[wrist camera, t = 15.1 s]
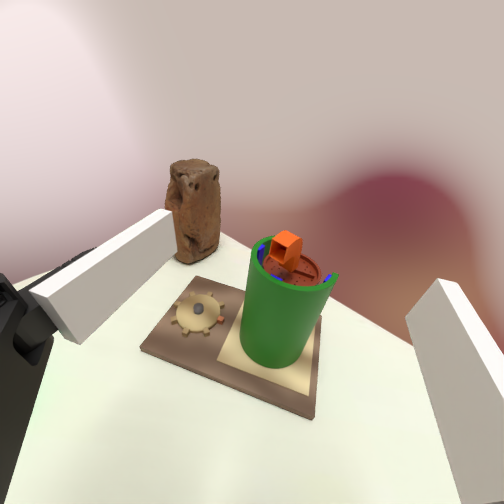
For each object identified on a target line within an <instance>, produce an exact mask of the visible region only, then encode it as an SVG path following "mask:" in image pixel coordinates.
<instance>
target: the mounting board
mask: <svg viewBox="0 0 504 504" xmlns="http://www.w3.org/2000/svg"><path fill="white" fill-rule="evenodd" d="M245 292H246V291H243V290H240V289H237V288H234V287H231V286H228V285H224V284H221V283H218V282H215V281H212V280H209V279H206V278H203V277H199V276H195V277H194V279H193V280H192V281H191V282H190V284H189V285H188V286H187V287H186V289H185V290H184V291H183V292H182V294H181V295H180V296H179V297H178V299H177V300H176V301H175V302H174V304H173V305H172V306H171V308H170V309H169V310H168V311H167V313H166V314H165V315H164V316H163V318H162V319H161V320H160V321H159V323H158V324H157V325H156V326H155V328H154V329H153V330H152V331H151V333H150V334H149V335H148V337H147V338H146V339H145V340H144V342H143V343H142V344H141V345H140V349H141V351H143V352H145V353H148V354H150V355H153V356H155V357H158V358H160V359H162V360H165V361H167V362H170V363H172V364H175V365H177V366H180V367H182V368H184V369H187V370H189V371H192V372H194V373H197V374H199V375H202V376H204V377H207V378H209V379H211V380H214V381H216V382H219V383H221V384H224V385H226V386H229V387H231V388H233V389H236V390H238V391H241V392H243V393H246V394H248V395H251V396H253V397H256V398H258V399H260V400H263V401H265V402H268V403H270V404H273V405H275V406H278V407H280V408H282V409H285V410H287V411H290V412H292V413H295V414H297V415H300V416H302V417H305V418H307V419H309V420H313V419H314V417H315V404H316V390H317V376H318V362H319V347H320V333H321V319H322V316H321V315H320V316H319V318H318V320H317V322H316V324H315V326H314V328H313V330H312V332H311V335H310V337H309V339H308V341H307V343H306V345H305V347H304V349H303V351H302V353H301V355H300V357H299V358H298V360H297V361H296V362H294V363H293V364H292V365H290V366H288V367H285V368H279V369H273V368H267V367H264V366H261V365H259V364H257V363H256V362H254V361H253V360H252V359H251V358H250V357H249V356H248V355H247V354H246V353H245V351H244V350H243V348H242V346H241V343H240V337H239V333H240V325H241V319H242V312H243V305H244V298H245Z"/></svg>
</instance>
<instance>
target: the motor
mask: <svg viewBox="0 0 504 504" xmlns="http://www.w3.org/2000/svg"><path fill="white" fill-rule="evenodd" d="M302 243H303V242H302V238H299V237H298V236H296V235H294V234H292V233H290V232H288V231H286V230H284V231H282V232H280V233H279V234H278V235H276V236H270V237H266V238H263V239H261V240H260V241H258V242H257V243H256V244H255V245H254V247H253V249H252V251H251V258H250V265H249V271H248V278H247V285H246V292H245V298H244V305H243V312H242V319H241V325H240V333H239V337H240V343H241V346H242V348H243V350H244V351H245V353H246V354H247V355H248V356H249V357H250V358H251V359H252V360H253V361H254V362H256V363H257V364H259V365H261V366H264V367H267V368H273V369H279V368H285V367H288V366H290V365H292V364H293V363H294V362H296V361H297V360H298V358H299V357H300V355H301V353H302V351H303V349H304V347H305V345H306V343H307V341H308V339H309V337H310V335H311V332H312V330H313V328H314V326H315V324H316V322H317V320H318V318H319V316H320V314H321V312H322V310H323V308H324V305H325V303H326V301H327V299H328V297H329V295H330V293H331V291H332V289H333V286H334V285H335V283H336V280H337V278H338V276H339V275H338V274H336V273H332V275H330V274H329V275H328V276H327V277H326V279H325V280H324V282H323V283H322V284H320V285H318V284H319V282H320V279H321V270H320V268H319V266H318V265H317V264H316V263H315V262H314V261H313V260H312V259H311V258H309V257H307V256H306V255H304V254H301V251H302Z"/></svg>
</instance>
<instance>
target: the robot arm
mask: <svg viewBox="0 0 504 504" xmlns="http://www.w3.org/2000/svg"><path fill="white" fill-rule="evenodd" d="M176 252H178V251H177V244H176V237H175V230H174V223H173V215H172V211H168V210H164V209H158V210H157V211H155V212H153V213H152V214H150V215H149V216H147V217H145V218H144V219H142V220H141V221H139V222H137V223H136V224H134V225H133V226H131V227H129V228H128V229H126V230H125V231H123V232H121V233H120V234H118V235H117V236H115V237H113V238H112V239H110V240H109V241H107V242H105V243H104V244H102V245H101V246H99V247H95V248H92V249H90V250H87V251H85V252H82V253H80V254H79V255H77V256H75V257H74V258H72V259H71V261H67V262H66V263H64V264H63V265H62V266H61V267H57V268H56V269H54V270H52V271H51V272H49V273H47V274H46V275H44V276H42V277H41V278H39V279H38V280H36V281H34V282H33V283H31V284H29V285H28V286H26V287H24V288H23V289H21V290H19V291H16V289H15V288H14V287H13V286H12V284H11V283H10V282H9V281H8V279H7V278H6V277H5V276H4V275H3V274H2V273H0V504H4V502H5V498H6V495H7V492H8V489H9V485H10V482H11V479H12V476H13V472H14V469H15V466H16V463H17V459H18V456H19V453H20V450H21V446H22V443H23V440H24V437H25V433H26V430H27V427H28V424H29V420H30V417H31V414H32V411H33V407H34V404H35V401H36V398H37V394H38V391H39V388H40V385H41V381H42V378H43V375H44V372H45V368H46V365H47V362H48V359H49V355H50V352H51V349H52V346H53V342H54V337H53V336H52V334H54V333H55V332H56V331H57V330H59V332H60V333H61V334H62V336H63V337H64V338H65V339H67V340H69V341H72V342H74V343H76V344H79V345H81V344H82V343H83V342H84V341H85V340H86V339H87V338H88V337H89V336H90V335H91V334H92V333H93V332H94V331H95V330H96V329H97V328H98V327H100V326H101V325H102V324H103V323H104V322H105V321H106V320H107V319H108V318H109V317H110V316H111V315H112V314H113V313H114V312H115V311H116V310H117V309H118V308H119V307H120V306H121V305H122V304H123V303H124V302H126V301H127V300H128V299H129V298H130V297H131V296H132V295H133V294H134V293H135V292H136V291H137V290H138V289H139V288H140V287H141V286H142V285H143V284H144V283H145V282H146V281H147V280H148V279H149V278H150V277H152V276H153V275H154V274H155V273H156V272H157V271H158V270H159V269H160V268H161V267H162V266H163V265H164V264H165V263H166V262H167V261H168V260H169V259H170V258H171V257H172V256H173V255H174V254H175V253H176ZM405 319H406V323H407V326H408V329H409V332H410V336H411V339H412V343H413V346H414V349H415V352H416V356H417V359H418V362H419V366H420V369H421V372H422V375H423V379H424V382H425V385H426V389H427V392H428V395H429V399H430V402H431V405H432V408H433V412H434V415H435V418H436V422H437V425H438V428H439V431H440V435H441V438H442V441H443V445H444V448H445V451H446V455H447V458H448V461H449V464H450V468H451V471H452V474H453V478H454V481H455V484H456V488H457V491H458V494H459V497H460V501H461V504H504V355H503V354H502V352H501V351H500V349H499V348H498V346H497V344H496V343H495V341H494V340H493V338H492V337H491V335H490V333H489V332H488V330H487V329H486V327H485V326H484V324H483V323H482V321H481V319H480V318H479V316H478V315H477V313H476V312H475V310H474V308H473V307H472V305H471V304H470V302H469V301H468V299H467V298H466V296H465V294H464V293H463V291H462V290H461V288H460V287H459V285H458V284H457V283H455V282H451V281H447V280H443V279H439V278H437V279H436V281H435V282H434V283H433V284H432V285H431V286H430V288H429V289H428V290H427V291H426V292H425V294H424V295H423V296H422V297H421V298H420V300H419V301H418V302H417V303H416V305H415V306H414V307H413V308H412V309H411V310H410V312H409V313H408V314H407V315H406V316H405Z"/></svg>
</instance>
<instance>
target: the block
mask: <svg viewBox="0 0 504 504" xmlns="http://www.w3.org/2000/svg"><path fill="white" fill-rule="evenodd" d="M170 175H171V179H170V183H169V185H168V189H167V194H166V200H165V210H168V211H172V215H173V223H174V230H175V237H176V244H177V251H178V252H176V253H175V254H174V255H175V256H176V258H177V259H178V260H179V261H181V262H184V263H192V262H194V261H197V260H201V259H203V258H204V257H206V256H208V255H209V254H211V253H212V252H213V251H214V250H215V249H216V248H217V246H218V244H219V237H220V223H221V218H220V212H221V197H220V184H219V182H218V180H219V169H218V168H217V167H216V166H214V165H210V164H209V163H208V162H206V161H204V160H200V159H190V160H180V161H177V162H175V163H173V164H172V165H171V166H170Z"/></svg>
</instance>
